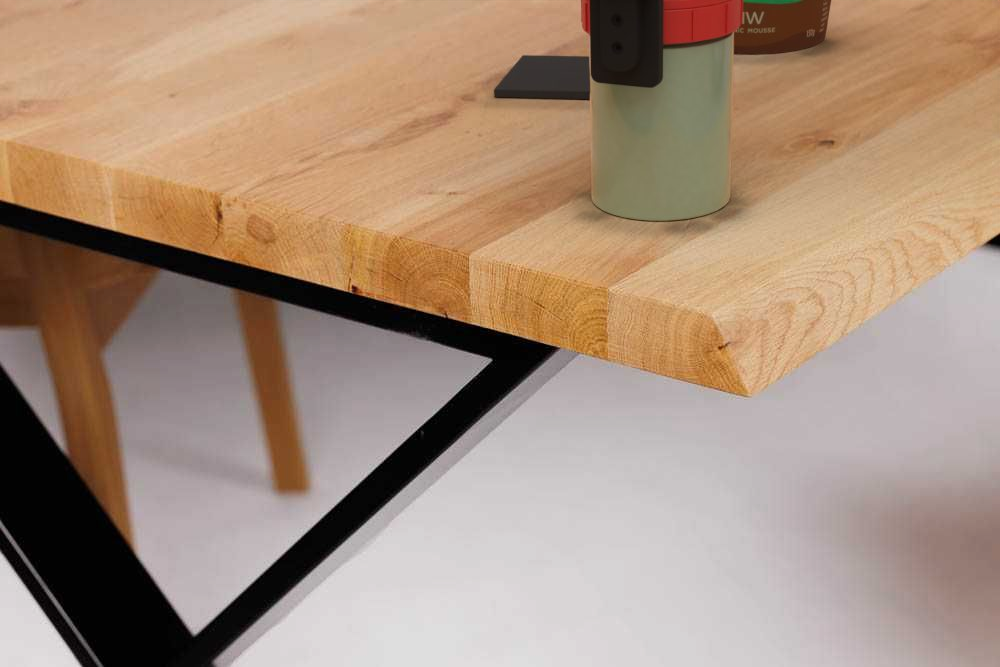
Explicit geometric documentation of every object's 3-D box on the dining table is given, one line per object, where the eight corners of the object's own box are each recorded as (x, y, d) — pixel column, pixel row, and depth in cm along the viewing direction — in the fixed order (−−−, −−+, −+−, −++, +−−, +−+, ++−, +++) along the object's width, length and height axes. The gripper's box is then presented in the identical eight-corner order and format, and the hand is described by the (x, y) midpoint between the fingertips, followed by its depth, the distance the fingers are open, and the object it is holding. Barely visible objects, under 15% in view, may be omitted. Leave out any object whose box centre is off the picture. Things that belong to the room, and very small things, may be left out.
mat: (646, 64, 91) (646, 57, 91) (627, 100, 84) (627, 92, 84) (522, 62, 93) (522, 54, 93) (494, 97, 86) (493, 89, 86)
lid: (620, 3, 70) (620, -37, 69) (762, 13, 67) (763, -28, 66) (555, 37, 64) (554, -6, 64) (707, 50, 61) (708, 5, 60)
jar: (735, 176, 71) (741, -20, 67) (723, 224, 65) (728, 12, 61) (603, 172, 73) (600, -21, 69) (580, 218, 67) (575, 11, 63)
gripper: (670, -371, 50) (666, 122, 58) (815, -374, 64) (797, 25, 72) (480, -361, 53) (500, 104, 61) (657, -366, 67) (656, 14, 75)
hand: (660, 58), depth 66 cm, fingers closed on lid, 7 cm apart
